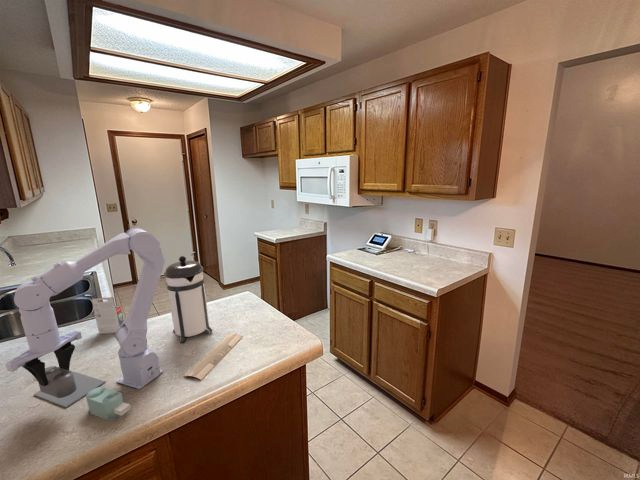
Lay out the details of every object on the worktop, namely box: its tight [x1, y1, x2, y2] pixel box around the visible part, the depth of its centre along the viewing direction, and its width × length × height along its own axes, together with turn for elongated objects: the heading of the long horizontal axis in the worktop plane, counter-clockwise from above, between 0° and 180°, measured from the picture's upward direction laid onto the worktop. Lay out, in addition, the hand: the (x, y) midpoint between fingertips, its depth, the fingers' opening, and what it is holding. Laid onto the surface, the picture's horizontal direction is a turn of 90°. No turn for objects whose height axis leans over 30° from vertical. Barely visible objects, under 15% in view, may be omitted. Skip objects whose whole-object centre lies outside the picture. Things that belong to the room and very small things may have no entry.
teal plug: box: [85, 386, 131, 421], centre depth 75 cm, size 12×4×4 cm, turn 70°
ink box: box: [91, 296, 124, 335], centre depth 113 cm, size 4×8×15 cm, turn 96°
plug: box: [32, 365, 77, 398], centre depth 75 cm, size 12×4×4 cm, turn 70°
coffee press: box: [163, 255, 213, 344], centre depth 109 cm, size 17×16×30 cm
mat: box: [33, 371, 106, 409], centre depth 84 cm, size 14×10×1 cm
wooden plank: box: [183, 332, 244, 381], centre depth 97 cm, size 24×7×2 cm, turn 165°
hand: (54, 378), depth 75 cm, fingers closed on plug, 4 cm apart
